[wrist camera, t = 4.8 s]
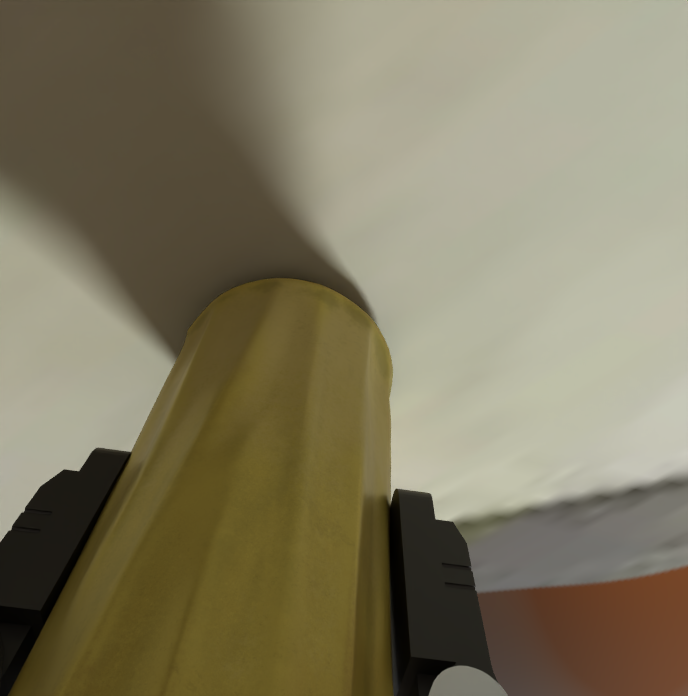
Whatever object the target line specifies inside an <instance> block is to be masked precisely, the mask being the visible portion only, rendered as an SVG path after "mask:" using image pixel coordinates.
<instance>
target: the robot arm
mask: <svg viewBox="0 0 688 696" xmlns="http://www.w3.org/2000/svg"><path fill="white" fill-rule="evenodd" d="M130 454H131V452H127V451H119V450H112V449H104V448H96V449H94V450H93V451H92V453H91V454H90V456H89V457H88V459H87V460H86V462H85V463H84V465H83V466H82V468H81V469H80V471H72V470H63V471H61V472H60V473H59V474H57V475H56V476H55V477H53V478H52V479H50V480H49V481H48V482H46V483H45V484H43V485H42V486H41V487H40V488H39V489H38V491H37V492H36V494H35V495H34V496H33V498H32V499H31V501H30V502H29V503H28V505H27V506H26V507H25V511H24V513H23V512H22V513H21V514H20V516H19V517H18V519H17V520H16V521H15V523H14V524H13V526H12V529H11V531H8V533H7V534H6V535H5V537H4V538H3V539H2V541H1V542H0V696H8V694H9V692H10V690H11V688H12V686H13V684H14V682H15V681H16V679H17V677H18V675H19V673H20V671H21V669H22V667H23V665H24V663H25V661H26V659H27V658H28V656H29V654H30V652H31V650H32V648H33V646H34V644H35V642H36V640H37V638H38V636H39V634H40V632H41V630H42V628H43V627H44V625H45V623H46V621H47V619H48V617H49V615H50V613H51V611H52V609H53V607H54V605H55V603H56V601H57V599H58V597H59V595H60V593H61V591H62V589H63V587H64V585H65V584H66V582H67V580H68V578H69V576H70V574H71V572H72V570H73V568H74V566H75V564H76V562H77V560H78V558H79V556H80V554H81V552H82V550H83V548H84V546H85V544H86V542H87V540H88V538H89V536H90V534H91V532H92V530H93V528H94V526H95V524H96V522H97V520H98V518H99V516H100V514H101V512H102V510H103V508H104V506H105V504H106V502H107V500H108V497H109V495H110V493H111V491H112V489H113V487H114V485H115V483H116V481H117V479H118V477H119V476H120V474H121V472H122V470H123V468H124V466H125V464H126V462H127V460H128V458H129V456H130ZM390 616H391V647H392V674H393V696H508V695H507V694H506V692H505V691H504V690H503V688H502V687H501V686H500V685H499V683H498V682H497V680H496V677H495V675H494V673H493V670H492V666H491V661H490V657H489V652H488V646H487V642H486V637H485V632H484V627H483V622H482V617H481V612H480V607H479V602H478V597H477V592H476V591H475V582H474V577H473V572H472V571H471V562H470V557H469V552H468V547H467V543H466V542H465V540H464V538H463V537H462V535H461V534H460V532H459V531H458V529H457V528H456V526H455V524H454V523H453V522H450V521H442V520H435V514H434V507H433V500H432V496H431V494H430V493H425V492H417V491H410V490H402V489H395V491H394V494H393V497H392V501H391V505H390Z"/></svg>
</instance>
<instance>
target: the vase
mask: <svg viewBox="0 0 688 696" xmlns="http://www.w3.org/2000/svg"><path fill="white" fill-rule="evenodd" d="M392 378H393V366H392V360H391V356H390V352H389V348H388V346H387V344H386V341H385V339H384V337H383V335H382V334H381V332H380V330H379V328H378V327H377V325H376V324H375V322H374V321H373V320H372V319H371V317H370V316H369V315H368V314H367V313H366V312H364V311H363V310H362V309H361V308H360V307H358V306H357V305H356V304H355V303H353V302H352V301H350V300H349V299H347V298H346V297H344V296H343V295H341V294H339V293H337V292H336V291H334V290H332V289H330V288H328V287H325V286H323V285H321V284H317V283H313V282H309V281H304V280H298V279H292V278H271V279H262V280H257V281H253V282H248V283H245V284H243V285H240V286H237V287H235V288H232V289H230V290H228V291H226V292H225V293H223V294H221V295H220V296H218V297H217V298H216V299H215V300H214V301H212V302H211V303H210V304H209V306H208V307H207V308H206V309H205V310H204V311H203V312H202V313H201V314H200V315H199V316H198V318H197V319H196V320H195V321H194V322H193V324H192V325H191V326H190V328H189V329H188V332H187V336H186V340H185V343H184V345H183V348H182V350H181V352H180V354H179V356H178V358H177V360H176V362H175V364H174V366H173V368H172V370H171V372H170V374H169V376H168V378H167V380H166V382H165V384H164V386H163V388H162V390H161V392H160V394H159V396H158V398H157V400H156V402H155V404H154V406H153V408H152V410H151V412H150V414H149V416H148V418H147V420H146V422H145V424H144V426H143V429H142V431H141V433H140V435H139V437H138V439H137V441H136V443H135V445H134V447H133V449H132V451H131V454H130V456H129V458H128V460H127V462H126V464H125V466H124V468H123V470H122V472H121V474H120V476H119V477H118V479H117V481H116V483H115V485H114V487H113V489H112V491H111V493H110V495H109V497H108V500H107V502H106V504H105V506H104V508H103V510H102V512H101V514H100V516H99V518H98V520H97V522H96V524H95V526H94V528H93V530H92V532H91V534H90V536H89V538H88V540H87V542H86V544H85V546H84V548H83V550H82V552H81V554H80V556H79V558H78V560H77V562H76V564H75V566H74V568H73V570H72V572H71V574H70V576H69V578H68V580H67V582H66V584H65V585H64V587H63V589H62V591H61V593H60V595H59V597H58V599H57V601H56V603H55V605H54V607H53V609H52V611H51V613H50V615H49V617H48V619H47V621H46V623H45V625H44V627H43V628H42V630H41V632H40V634H39V636H38V638H37V640H36V642H35V644H34V646H33V648H32V650H31V652H30V654H29V656H28V658H27V659H26V661H25V663H24V665H23V667H22V669H21V671H20V673H19V675H18V677H17V679H16V681H15V682H14V684H13V686H12V688H11V690H10V692H9V694H8V696H393V674H392V647H391V616H390V505H391V445H390V444H391V415H390V403H389V397H390V392H391V386H392Z"/></svg>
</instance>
